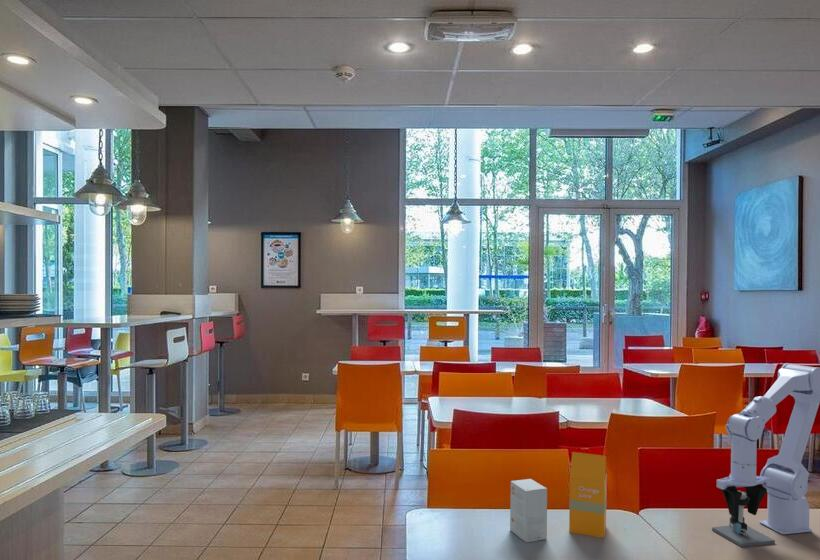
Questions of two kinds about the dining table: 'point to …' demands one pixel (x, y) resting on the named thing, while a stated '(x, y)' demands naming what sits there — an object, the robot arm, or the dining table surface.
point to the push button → (740, 516)
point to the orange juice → (588, 494)
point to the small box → (528, 510)
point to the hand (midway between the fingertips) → (742, 514)
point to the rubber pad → (742, 540)
